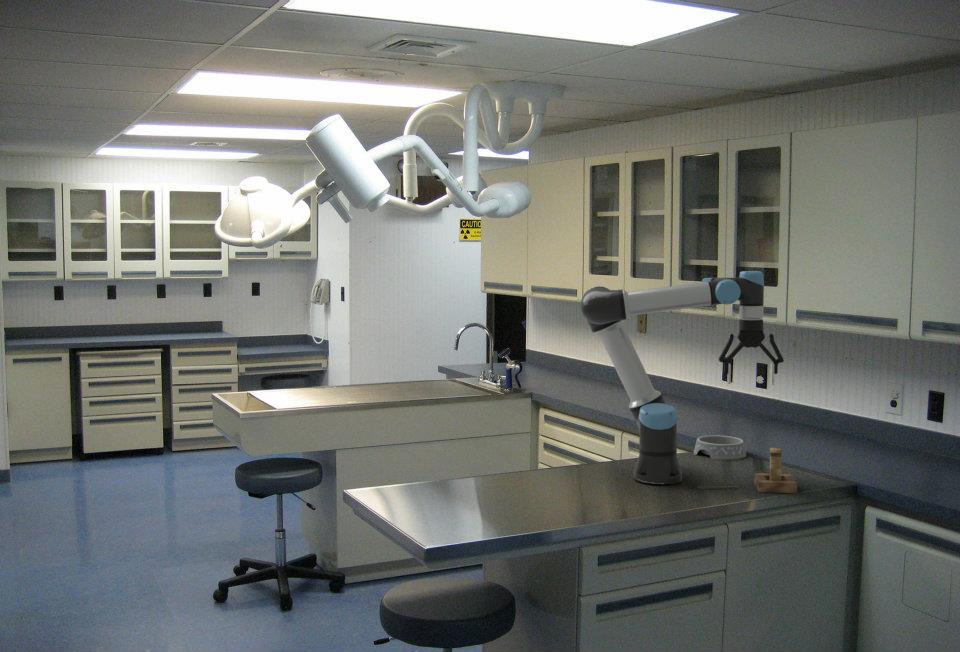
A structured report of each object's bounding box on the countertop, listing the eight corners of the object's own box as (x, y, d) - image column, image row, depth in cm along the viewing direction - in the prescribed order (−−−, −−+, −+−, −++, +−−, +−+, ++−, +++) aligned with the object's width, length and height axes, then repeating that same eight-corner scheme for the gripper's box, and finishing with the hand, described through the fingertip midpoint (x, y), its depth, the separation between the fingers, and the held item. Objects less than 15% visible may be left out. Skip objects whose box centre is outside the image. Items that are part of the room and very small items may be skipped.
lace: (699, 489, 278) (699, 487, 278) (698, 488, 279) (698, 486, 278) (738, 488, 278) (738, 486, 278) (737, 487, 279) (738, 486, 279)
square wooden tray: (758, 491, 274) (759, 482, 274) (754, 482, 285) (754, 473, 284) (797, 493, 272) (797, 483, 272) (790, 483, 283) (791, 473, 283)
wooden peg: (770, 488, 277) (771, 450, 276) (769, 486, 280) (769, 447, 279) (781, 489, 277) (781, 450, 275) (779, 486, 280) (780, 448, 279)
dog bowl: (716, 446, 336) (716, 432, 336) (756, 455, 321) (757, 440, 321) (683, 453, 327) (684, 438, 326) (724, 462, 312) (724, 447, 311)
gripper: (789, 317, 297) (788, 382, 299) (710, 317, 301) (710, 381, 303) (793, 319, 290) (792, 385, 291) (712, 319, 294) (712, 385, 296)
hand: (750, 383), depth 297 cm, fingers open, 13 cm apart
